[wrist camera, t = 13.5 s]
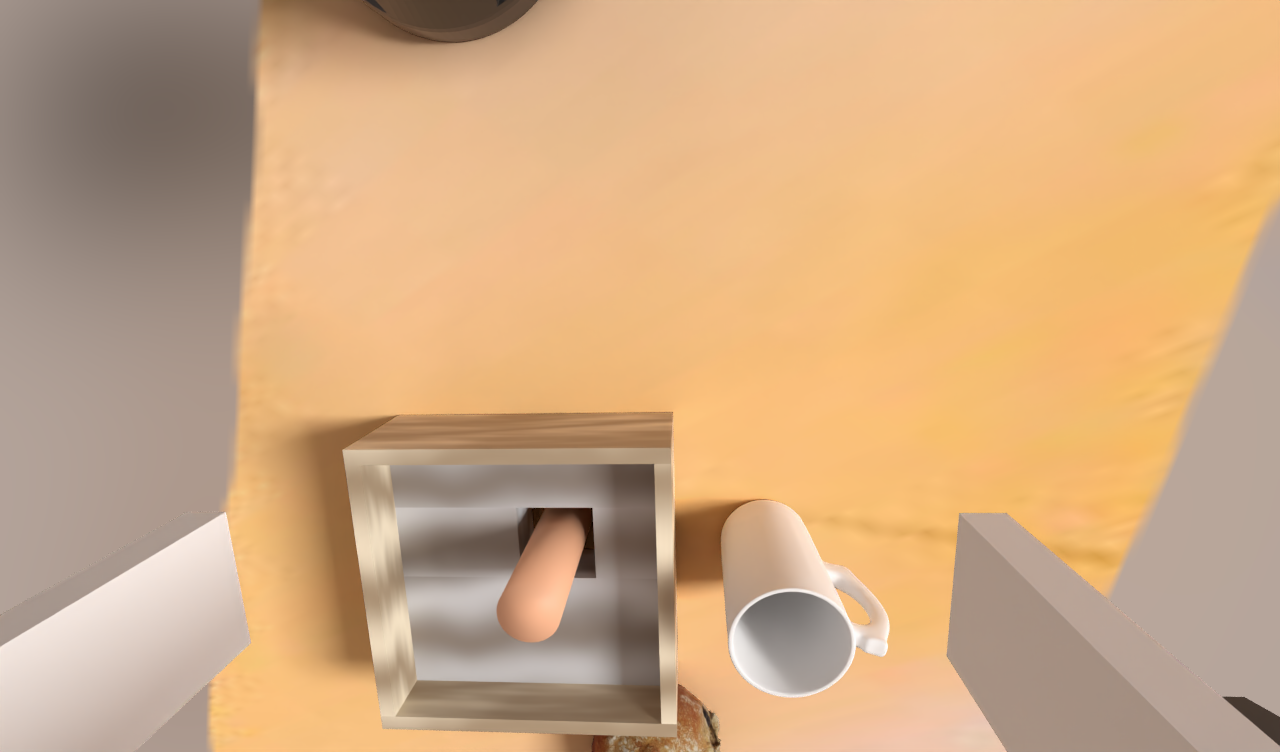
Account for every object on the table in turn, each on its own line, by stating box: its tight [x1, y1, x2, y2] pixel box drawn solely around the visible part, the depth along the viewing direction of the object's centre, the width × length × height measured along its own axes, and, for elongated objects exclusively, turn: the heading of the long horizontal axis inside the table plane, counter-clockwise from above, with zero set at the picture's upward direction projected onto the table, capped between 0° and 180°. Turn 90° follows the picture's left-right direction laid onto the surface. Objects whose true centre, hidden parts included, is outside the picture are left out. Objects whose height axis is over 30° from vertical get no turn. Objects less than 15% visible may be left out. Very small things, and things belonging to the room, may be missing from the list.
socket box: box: [342, 412, 678, 737], centre depth 42 cm, size 20×20×8 cm
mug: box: [721, 500, 889, 697], centre depth 39 cm, size 10×7×12 cm, turn 79°
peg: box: [496, 508, 592, 643], centre depth 40 cm, size 4×4×12 cm
